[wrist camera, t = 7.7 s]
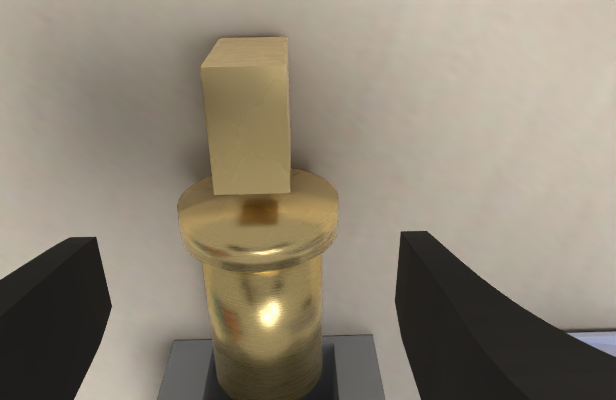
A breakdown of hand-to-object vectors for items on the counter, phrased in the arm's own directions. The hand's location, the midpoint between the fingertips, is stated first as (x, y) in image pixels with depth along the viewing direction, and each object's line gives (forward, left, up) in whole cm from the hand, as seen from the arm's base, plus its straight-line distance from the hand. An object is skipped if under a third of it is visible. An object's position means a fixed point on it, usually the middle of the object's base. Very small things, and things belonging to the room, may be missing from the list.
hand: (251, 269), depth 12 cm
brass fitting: (0, +4, -10) cm, 10 cm away
